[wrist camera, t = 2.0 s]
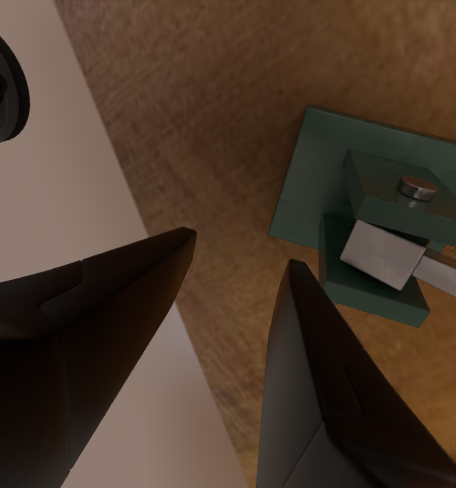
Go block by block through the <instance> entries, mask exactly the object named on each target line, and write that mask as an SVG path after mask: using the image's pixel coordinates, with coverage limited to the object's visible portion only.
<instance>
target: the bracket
mask: <svg viewBox="0 0 456 488" xmlns="http://www.w3.org/2000/svg"><path fill="white" fill-rule="evenodd" d="M357 219H358V220H361V221H365V222H368V223H372V224H376V225H379V226H383V227H386V228H390V229H394V230H397V231H401V232H404V233H408V234H411V235H415V236H419V237H422V238H426V239H429V240H431V242H430V244H429V245H428V247H427V248H431V249H433V250H435V251H438V252H440V253H441V251H442V250H443V248H444V247H445V245H446V244H447V245H451V246H454V247H456V141H453V140H449V139H445V138H441V137H437V136H433V135H429V134H425V133H421V132H417V131H413V130H409V129H405V128H401V127H397V126H393V125H389V124H385V123H381V122H378V121H374V120H370V119H366V118H362V117H358V116H354V115H350V114H346V113H342V112H338V111H334V110H330V109H326V108H322V107H318V106H314V105H310V104H308V105H307V107H306V111H305V114H304V117H303V120H302V124H301V127H300V130H299V134H298V137H297V140H296V143H295V147H294V150H293V153H292V156H291V160H290V163H289V166H288V170H287V173H286V176H285V179H284V183H283V186H282V189H281V192H280V196H279V199H278V202H277V206H276V209H275V212H274V215H273V219H272V222H271V225H270V229H269V233H268V235H269V236H273V237H276V238H280V239H283V240H287V241H290V242H293V243H297V244H300V245H304V246H307V247H311V248H314V249H318V250H319V284H320V285H321V287H322V288H323V289H324V291H325V292H326V294H327V295H328V297H329V298H330V300H331V301H332V302H334V303H338V304H341V305H344V306H348V307H351V308H354V309H358V310H361V311H364V312H367V313H371V314H374V315H377V316H381V317H384V318H387V319H391V320H394V321H397V322H401V323H404V324H407V325H411V326H414V327H417V328H419V327H420V326H421V325H422V323H423V322H424V320H425V319H426V317H427V316H428V315H429V313H430V310H429V307H428V305H427V303H426V301H425V298H424V296H423V294H422V292H421V289H420V287H419V285H418V283H417V280H416V277H414V276H412V275H411V276H410V277H409V279H408V281H407V282H406V284H405V286H404V287H403V289H402V290H401V291H398V290H397V289H395V288H393V287H391V286H389V285H387V284H385V283H383V282H381V281H379V280H377V279H375V278H374V277H372V276H370V275H368V274H366V273H364V272H362V271H360V270H358V269H356V268H354V267H352V266H351V265H349V264H347V263H345V262H343V261H341V260H340V256H341V254H342V252H343V249H344V247H345V245H346V243H347V241H348V238H349V236H350V234H351V232H352V230H353V227H354V225H355V223H356V221H357Z"/></svg>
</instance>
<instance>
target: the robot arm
mask: <svg viewBox="0 0 456 488" xmlns="http://www.w3.org/2000/svg"><path fill="white" fill-rule="evenodd" d="M7 86H8V85H7V81H6V79H5V78H4V77H3V76H2V75H1V74H0V104H1V102H2V100H3V97H4V95H5V92H6V90H7ZM196 237H197V232H196V231H195V230H193V229H190V228H186V227H180V228H177V229H174V230H171V231H168V232H165V233H162V234H159V235H156V236H153V237H150V238H147V239H144V240H140V241H137V242H134V243H131V244H128V245H125V246H122V247H119V248H116V249H113V250H110V251H107V252H104V253H101V254H98V255H95V256H92V257H88V258H86V259H83V260H82V261H80V260H79V261H76V262H73V263H70V264H67V265H64V266H60V267H57V268H54V269H51V270H47V271H44V272H40V273H36V274H33V275H29V276H25V277H21V278H17V279H13V280H9V281H5V282H1V283H0V488H60V487H61V486H62V484H63V482H64V481H65V479H66V477H67V476H68V474H69V472H70V469H72V467H73V466H74V464H75V463H76V461H77V459H78V458H79V456H80V454H81V453H82V451H83V450H84V448H85V446H86V445H87V443H88V442H89V440H90V438H91V437H92V435H93V433H94V432H95V430H96V429H97V427H98V425H99V424H100V422H101V420H102V419H103V417H104V416H105V414H106V412H107V411H108V409H109V407H110V406H111V404H112V403H113V401H114V399H115V398H116V396H117V395H118V393H119V391H120V390H121V388H122V386H123V385H124V383H125V381H126V380H127V378H128V377H129V375H130V373H131V372H132V370H133V369H134V367H135V365H136V364H137V362H138V360H139V359H140V357H141V356H142V354H143V352H144V351H145V349H146V347H147V346H148V344H149V342H150V341H151V339H152V338H153V336H154V334H155V333H156V331H157V330H158V328H159V326H160V325H161V323H162V321H163V320H164V318H165V317H166V315H167V313H168V312H169V310H170V308H171V306H172V304H173V302H174V300H175V298H176V296H177V294H178V291H179V289H180V287H181V285H182V282H183V280H184V278H185V276H186V273H187V271H188V269H189V267H190V264H191V262H192V259H193V254H194V249H195V243H196ZM256 488H456V463H455V462H454V461H453V460H452V459H451V457H450V456H449V455H448V454H447V453H446V451H445V450H444V449H443V448H442V447H441V445H440V444H439V443H438V442H437V441H436V439H435V438H434V437H433V436H432V435H431V433H430V432H429V431H428V430H427V429H426V427H425V426H424V425H423V424H422V422H421V421H420V420H419V419H418V418H417V416H416V415H415V414H414V413H413V412H412V410H411V409H410V408H409V407H408V406H407V404H406V403H405V402H404V401H403V399H402V398H401V397H400V396H399V394H398V393H397V392H396V391H395V389H394V388H393V387H392V386H391V384H390V383H389V382H388V381H387V379H386V378H385V377H384V375H383V374H382V372H381V371H380V370H379V368H378V367H377V366H376V364H375V363H374V361H373V360H372V359H371V357H370V356H369V354H368V353H367V351H366V350H365V349H364V348H363V346H362V344H361V343H360V341H359V340H358V339H357V337H356V336H355V334H354V333H353V331H352V330H351V328H350V327H349V326H348V324H347V323H346V321H345V320H344V318H343V317H342V315H341V314H340V313H339V311H338V310H337V308H336V307H335V305H334V304H333V302H332V301H331V300H330V298H329V297H328V295H327V294H326V292H325V291H324V289H323V288H322V287H321V285H320V284H319V282H318V281H317V279H316V278H315V276H314V275H313V274H312V272H311V271H310V269H309V268H308V266H307V265H306V264H305V263H304V262H301V261H298V260H295V259H290V260H289V261H288V264H287V266H286V269H285V272H284V275H283V278H282V280H281V283H280V286H279V290H278V294H277V299H276V303H275V308H274V312H273V317H272V321H271V326H270V331H269V336H268V344H267V356H266V368H265V381H264V393H263V405H262V417H261V429H260V441H259V454H258V466H257V478H256Z"/></svg>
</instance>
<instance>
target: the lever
mask: <svg viewBox="0 0 456 488" xmlns="http://www.w3.org/2000/svg"><path fill="white" fill-rule="evenodd" d="M430 242H431V240H429V239H426V238H422V237H419V236H415V235H411V234H408V233H404V232H401V231H397V230H394V229H390V228H386V227H383V226H379V225H376V224H372V223H368V222H365V221H361V220H358V219H357V221H356V223H355V225H354V227H353V230H352V232H351V234H350V236H349V238H348V241H347V243H346V245H345V247H344V249H343V252H342V254H341V256H340V260H341V261H343V262H345V263H347V264H349V265H351V266H352V267H354V268H356V269H358V270H360V271H362V272H364V273H366V274H368V275H370V276H372V277H374V278H375V279H377V280H379V281H381V282H383V283H385V284H387V285H389V286H391V287H393V288H395V289H397V290H398V291H401V290H402V289H403V287H404V286H405V284H406V282H407V281H408V279H409V277H410V276H411V275H412V276H414V277H416V278H418V279H420V280H422V281H424V282H426V283H428V284H430V285H432V286H434V287H436V288H438V289H440V290H442V291H444V292H446V293H448V294H450V295H452V296H454V297H456V260H455V259H453V258H451V257H449V256H447V255H444V254H442V253H440V252H438V251H435V250H433V249H431V248H427V247H428V245H429V244H430Z"/></svg>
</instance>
